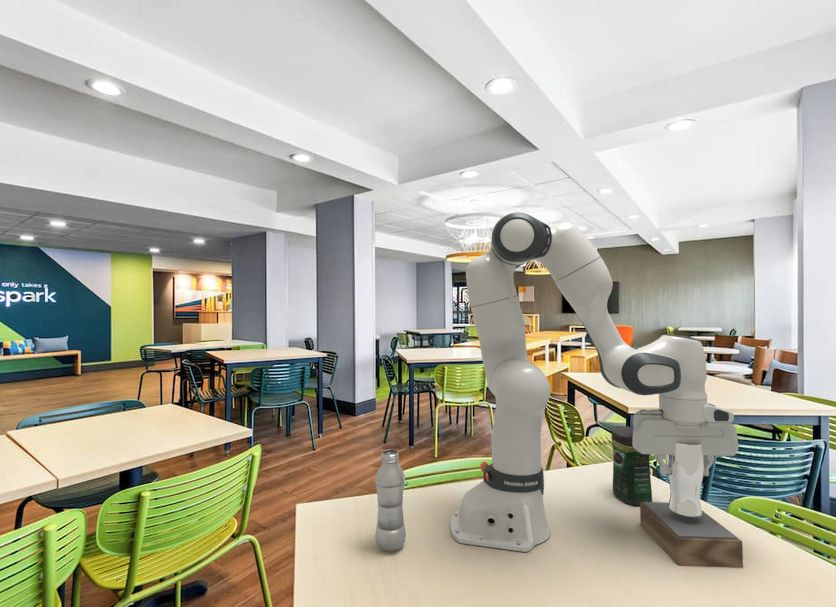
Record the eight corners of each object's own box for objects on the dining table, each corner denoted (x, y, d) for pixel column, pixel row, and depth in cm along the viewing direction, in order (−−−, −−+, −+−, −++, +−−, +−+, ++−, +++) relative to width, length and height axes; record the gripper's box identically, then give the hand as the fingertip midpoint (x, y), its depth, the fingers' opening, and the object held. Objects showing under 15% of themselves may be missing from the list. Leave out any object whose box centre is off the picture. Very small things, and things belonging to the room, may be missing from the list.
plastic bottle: (409, 540, 91) (409, 448, 91) (400, 558, 84) (399, 458, 85) (382, 536, 93) (381, 446, 93) (370, 553, 86) (370, 456, 87)
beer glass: (711, 520, 85) (710, 446, 85) (673, 516, 86) (672, 443, 87) (695, 505, 92) (694, 436, 92) (661, 502, 93) (660, 434, 93)
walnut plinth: (678, 565, 81) (677, 537, 81) (640, 524, 97) (640, 500, 97) (743, 567, 80) (742, 539, 80) (694, 525, 96) (693, 502, 96)
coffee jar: (658, 506, 106) (656, 432, 107) (629, 507, 105) (627, 434, 106) (634, 490, 116) (633, 423, 117) (607, 491, 115) (606, 424, 116)
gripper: (639, 412, 87) (640, 479, 87) (742, 413, 86) (744, 481, 85) (626, 406, 93) (627, 468, 93) (722, 407, 92) (724, 470, 91)
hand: (684, 474), depth 89 cm, fingers closed on beer glass, 6 cm apart
